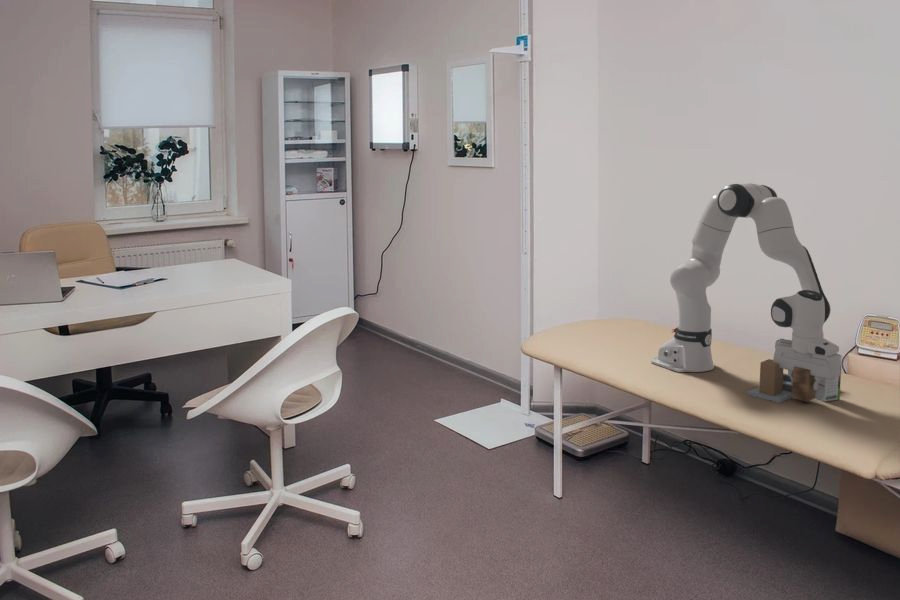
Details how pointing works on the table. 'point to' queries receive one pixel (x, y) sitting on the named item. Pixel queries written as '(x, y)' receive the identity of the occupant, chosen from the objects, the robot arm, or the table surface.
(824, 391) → the syrup box
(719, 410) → the table surface
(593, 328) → the table surface
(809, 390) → the block
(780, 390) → the grey base with blocks
